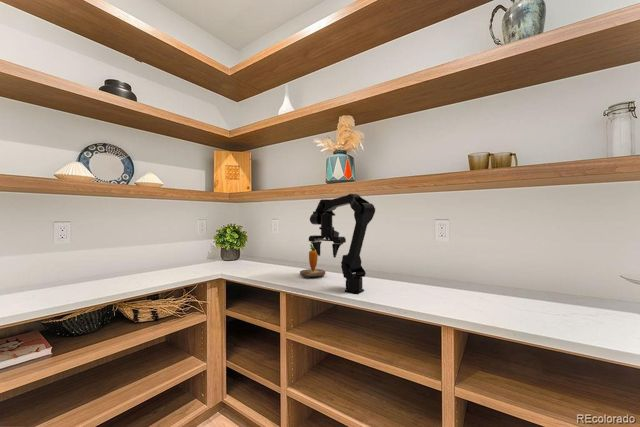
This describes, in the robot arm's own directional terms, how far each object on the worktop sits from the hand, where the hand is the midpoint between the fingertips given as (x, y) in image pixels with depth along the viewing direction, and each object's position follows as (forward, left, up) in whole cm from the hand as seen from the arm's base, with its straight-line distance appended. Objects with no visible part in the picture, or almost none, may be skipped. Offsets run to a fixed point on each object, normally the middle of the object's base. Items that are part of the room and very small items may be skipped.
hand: (326, 256), depth 131 cm
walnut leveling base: (+15, -8, -13) cm, 21 cm away
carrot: (+15, -8, -10) cm, 20 cm away
